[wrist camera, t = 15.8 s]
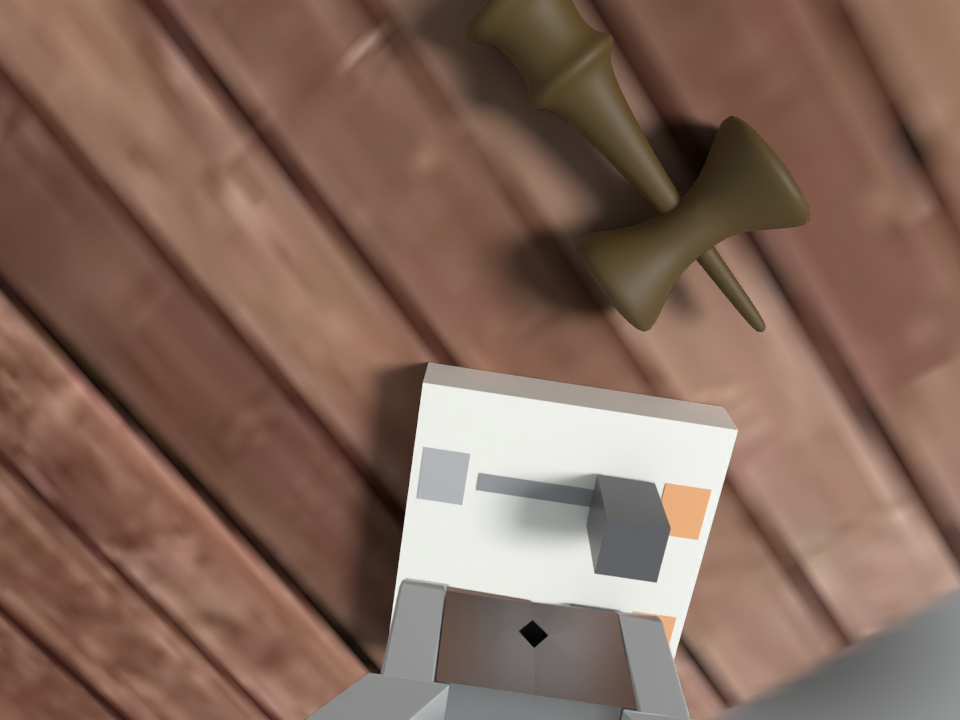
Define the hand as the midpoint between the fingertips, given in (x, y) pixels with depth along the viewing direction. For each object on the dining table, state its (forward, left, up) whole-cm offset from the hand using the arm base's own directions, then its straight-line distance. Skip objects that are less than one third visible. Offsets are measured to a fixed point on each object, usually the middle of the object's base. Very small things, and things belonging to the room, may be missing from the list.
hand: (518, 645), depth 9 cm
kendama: (+5, +3, -34) cm, 34 cm away
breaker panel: (+5, -18, -33) cm, 38 cm away
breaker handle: (+8, -14, -30) cm, 34 cm away
